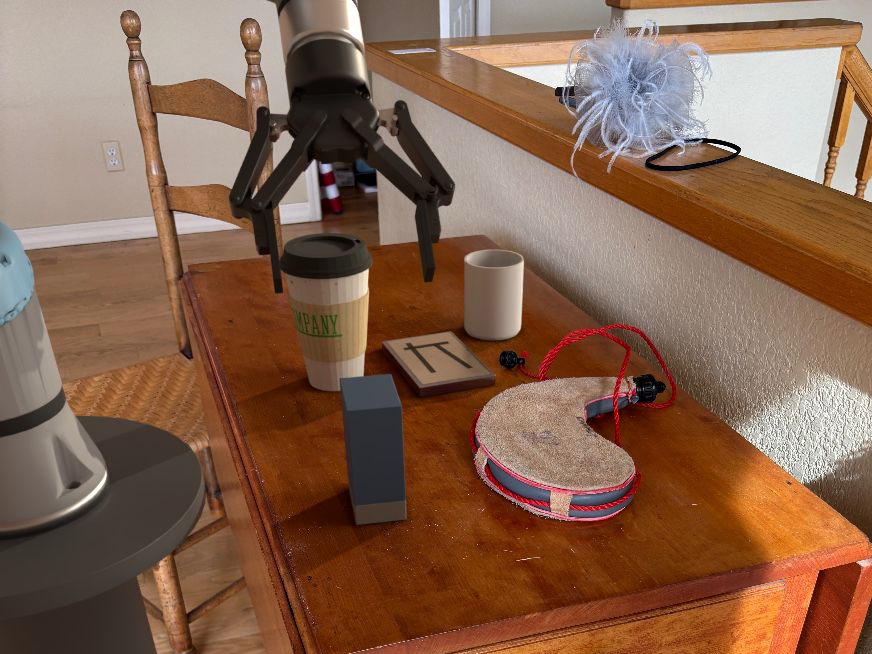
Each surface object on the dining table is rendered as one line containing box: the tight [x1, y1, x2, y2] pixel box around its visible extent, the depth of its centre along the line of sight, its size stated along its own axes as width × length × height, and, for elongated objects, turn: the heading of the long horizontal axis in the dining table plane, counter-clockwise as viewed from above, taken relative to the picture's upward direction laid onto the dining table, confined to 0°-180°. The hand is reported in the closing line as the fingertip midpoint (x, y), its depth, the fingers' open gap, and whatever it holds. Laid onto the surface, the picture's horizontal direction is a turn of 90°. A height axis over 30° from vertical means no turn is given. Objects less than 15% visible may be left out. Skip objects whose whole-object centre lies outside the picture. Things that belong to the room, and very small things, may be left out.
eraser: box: [340, 373, 407, 526], centre depth 81 cm, size 4×6×11 cm
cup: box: [463, 249, 525, 341], centre depth 116 cm, size 7×10×9 cm
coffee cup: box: [279, 232, 374, 392], centre depth 101 cm, size 10×10×15 cm
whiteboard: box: [381, 330, 496, 398], centre depth 108 cm, size 9×14×1 cm, turn 21°
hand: (355, 281), depth 83 cm, fingers open, 13 cm apart
